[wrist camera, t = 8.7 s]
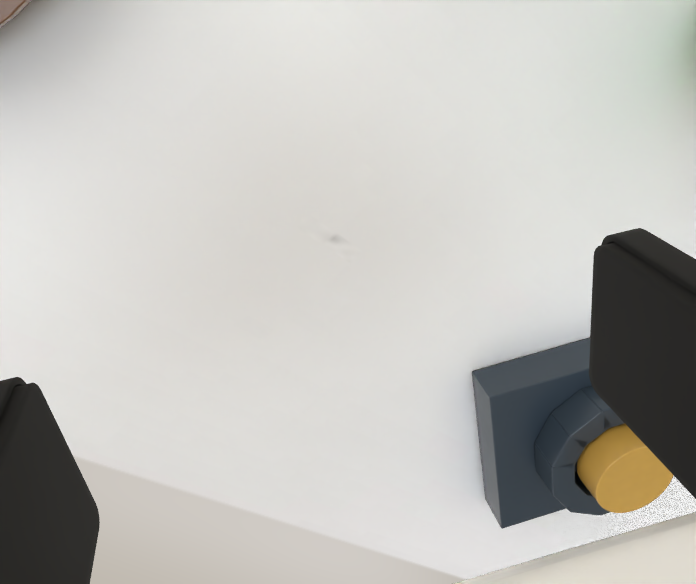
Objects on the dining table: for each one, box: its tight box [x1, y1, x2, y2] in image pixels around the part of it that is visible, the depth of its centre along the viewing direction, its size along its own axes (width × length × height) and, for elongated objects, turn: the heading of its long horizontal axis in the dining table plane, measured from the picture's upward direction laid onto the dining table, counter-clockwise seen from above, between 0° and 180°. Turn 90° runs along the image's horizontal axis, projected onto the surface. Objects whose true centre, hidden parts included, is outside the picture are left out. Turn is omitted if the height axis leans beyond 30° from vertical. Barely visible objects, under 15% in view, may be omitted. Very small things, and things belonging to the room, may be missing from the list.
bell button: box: [577, 424, 673, 513], centre depth 30 cm, size 4×4×2 cm
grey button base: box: [472, 338, 625, 528], centre depth 32 cm, size 11×9×4 cm
